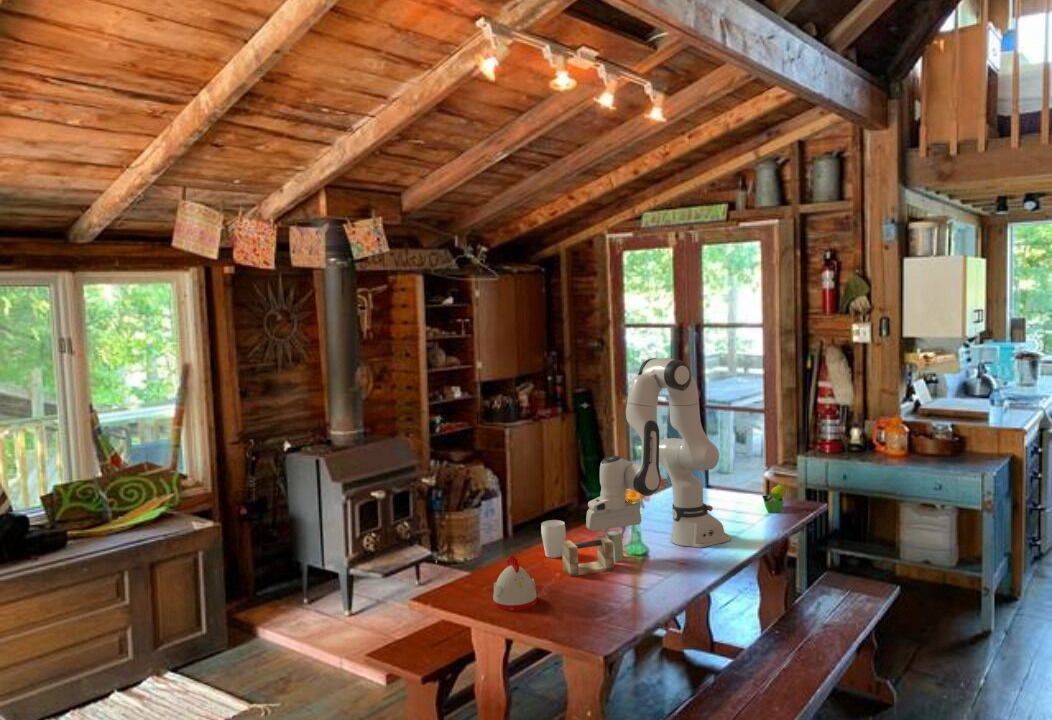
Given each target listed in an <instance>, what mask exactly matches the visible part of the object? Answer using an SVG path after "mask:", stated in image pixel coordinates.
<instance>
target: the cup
mask: <svg viewBox="0 0 1052 720" xmlns="http://www.w3.org/2000/svg"><path fill="white" fill-rule="evenodd" d="M540 525H541V526H540V527H541V528H540V529H541V530H540V533H541V538H542V539H541V540H542V544H543V548H544V554H545V557H547V558H551V559H556V558H557V557H558V558H561V557H562V541H566V524H565V521H562V520H558V519H551V520H545V521H542V522H541V523H540Z"/></svg>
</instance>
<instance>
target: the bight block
mask: <svg viewBox="0 0 1052 720" xmlns="http://www.w3.org/2000/svg"><path fill="white" fill-rule="evenodd" d="M607 533H608V534H610V535H611V536H612V540H611V541H613V557H614V563H616V562H623V561H624V548H623V547H624V546H623V539H622V536H621V535H620V534H618V533H619V532H617V531H616V530H613V531H608V532H607Z"/></svg>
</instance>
